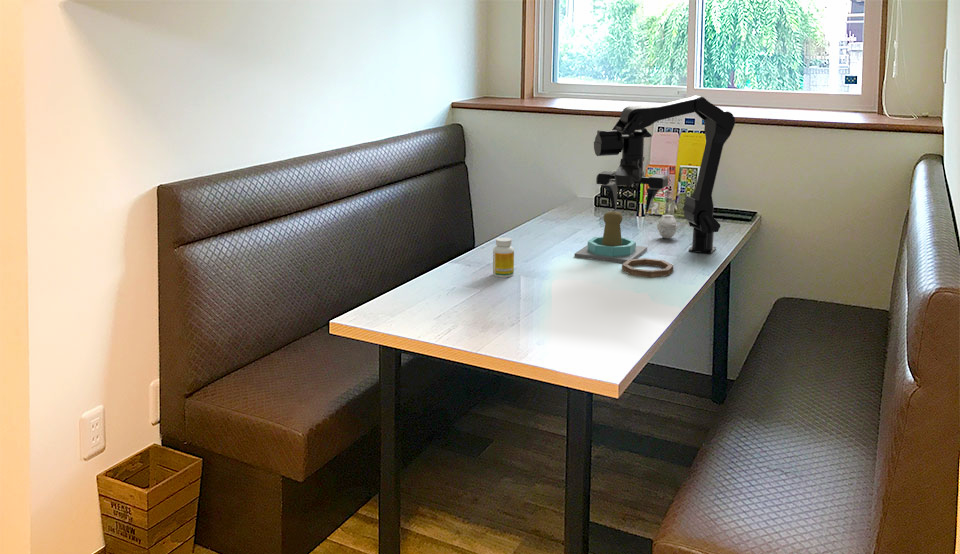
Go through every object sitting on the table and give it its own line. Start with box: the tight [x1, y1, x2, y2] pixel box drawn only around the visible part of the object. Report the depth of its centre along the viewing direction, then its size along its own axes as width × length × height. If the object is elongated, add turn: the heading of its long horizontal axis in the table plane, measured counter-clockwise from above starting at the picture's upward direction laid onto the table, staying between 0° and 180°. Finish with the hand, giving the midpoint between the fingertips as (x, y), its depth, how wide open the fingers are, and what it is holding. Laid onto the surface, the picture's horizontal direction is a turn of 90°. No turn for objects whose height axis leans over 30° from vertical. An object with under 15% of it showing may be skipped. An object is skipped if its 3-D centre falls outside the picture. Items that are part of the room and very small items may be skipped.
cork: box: [602, 210, 623, 246], centre depth 251 cm, size 6×6×11 cm
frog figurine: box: [656, 214, 679, 240], centre depth 269 cm, size 6×7×7 cm
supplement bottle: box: [492, 237, 515, 279], centre depth 231 cm, size 5×5×10 cm
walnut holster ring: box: [621, 257, 675, 278], centre depth 236 cm, size 12×12×2 cm
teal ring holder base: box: [573, 236, 648, 264], centre depth 252 cm, size 16×16×4 cm
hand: (631, 210), depth 248 cm, fingers open, 9 cm apart
